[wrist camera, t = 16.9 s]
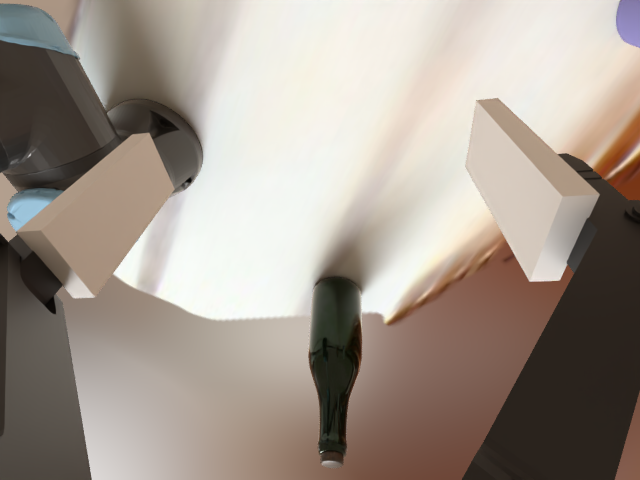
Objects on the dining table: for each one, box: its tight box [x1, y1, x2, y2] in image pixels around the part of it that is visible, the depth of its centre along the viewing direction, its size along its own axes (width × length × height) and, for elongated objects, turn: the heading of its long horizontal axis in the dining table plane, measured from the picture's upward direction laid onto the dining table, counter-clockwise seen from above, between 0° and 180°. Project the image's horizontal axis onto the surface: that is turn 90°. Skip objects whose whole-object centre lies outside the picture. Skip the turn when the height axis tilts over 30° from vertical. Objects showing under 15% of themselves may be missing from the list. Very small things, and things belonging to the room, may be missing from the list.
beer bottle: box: [308, 277, 362, 468], centre depth 62 cm, size 10×10×33 cm
